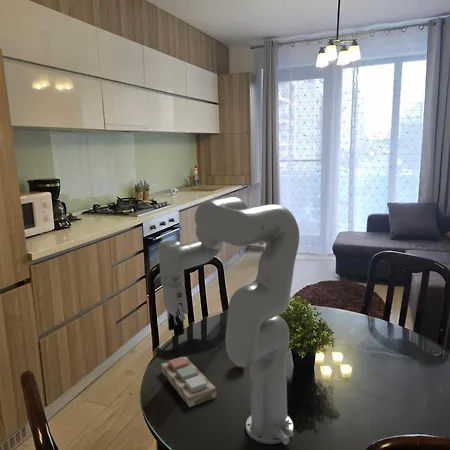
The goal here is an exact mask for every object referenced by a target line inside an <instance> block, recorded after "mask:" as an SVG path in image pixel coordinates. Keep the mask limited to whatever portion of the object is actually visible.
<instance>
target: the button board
mask: <svg viewBox="0 0 450 450" xmlns="http://www.w3.org/2000/svg"><path fill="white" fill-rule="evenodd" d="M182 357H183V358H184V359H185V360H186V361H187V362H188V365H189V366H192V367H193V368H194V369H195V370H196V372H197V376H199V375H200V376H201V377H202V378H203V379H204V380H205V381H206V382H207V388H206V389H203V390H200V391H197V392H194V393H191V392H190V391H189V390H188V388H187V387H186V384H185V382H182V381H181V380H180V379H179V378H178V376H177V371H176V372H173V370H172V369H171V368H170V367H169V361H166V362H164V363H160V364H161V373H163V375H164V377H166V379H167V380H168V382H169V383H170V384H171V386H172V387H173V388H174V389H175V391H176V392H177V393H178V395H179V396H180V398H182V400H183V401H184V402H185V403H186V404H187V407H188V408H191V407H194V406H196V405H199V404H202V403H205V402H208V401H210V400H214V399H216V398H217V388H216V386H215V385H214V384H213V383H212V382H211V381H210V380H209V379H208V378H207V377H206V376H205V375H204V374H203V373H202V372H201V371H200V370H199V369H198V367H196V366H195V365H194V364H193V362H192V361H191V360H190V359H189V358H188V357H187V356H182Z"/></svg>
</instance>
